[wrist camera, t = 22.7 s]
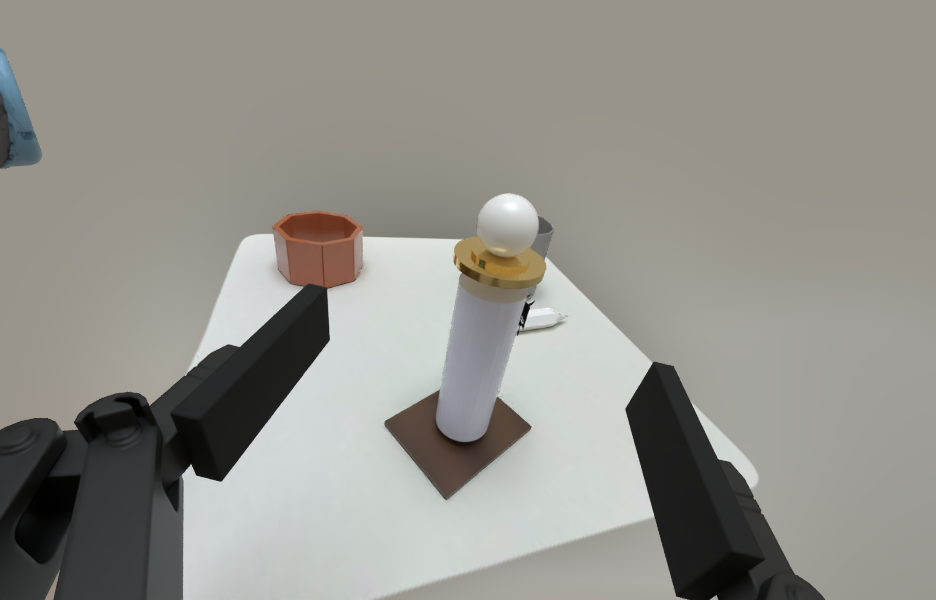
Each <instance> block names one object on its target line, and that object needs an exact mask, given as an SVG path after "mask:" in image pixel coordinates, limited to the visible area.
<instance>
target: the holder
mask: <svg viewBox="0 0 936 600" xmlns="http://www.w3.org/2000/svg"><path fill="white" fill-rule="evenodd" d="M273 233H274V241H275V248H276V255H277V263H278V270H279V271H280V272H281V273H282V274H283V275H284V276H285V277H286V279H287V280H288V281H289V282H290V283H292V284H295V285H301V286H306V285H307V284H308V283H310V284H314V285H319V286H323V287H327V288H330V287H333V286H337V285H341V284H345V283H348V282H352V281H354V280H355V279H356V277H357V275H358V273H359V272H360V270H361V268H362V253H363V227H362V226H361V225H359V224H358V223H357V222H355V221H354V220H353V219H351V218H350V217H349V216H346V215H340V214H334V213H328V212H322V211H312V212H304V213H296V214H288V215H286V216H285V217H283V218H282V219H281V220H279V221H278V222H277V223H276V224H274V226H273Z"/></svg>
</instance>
